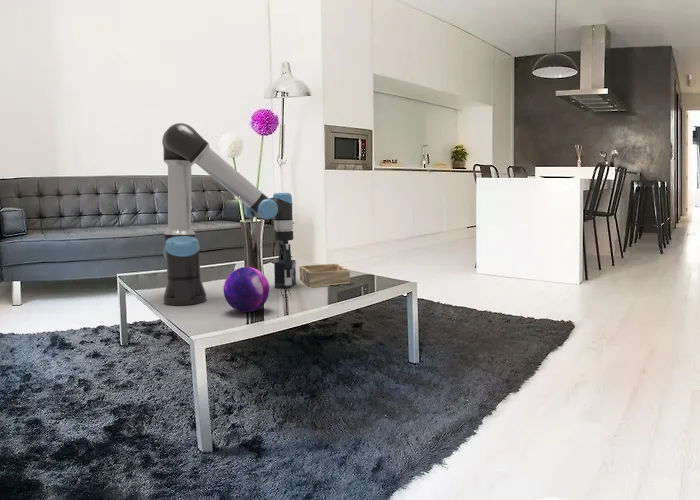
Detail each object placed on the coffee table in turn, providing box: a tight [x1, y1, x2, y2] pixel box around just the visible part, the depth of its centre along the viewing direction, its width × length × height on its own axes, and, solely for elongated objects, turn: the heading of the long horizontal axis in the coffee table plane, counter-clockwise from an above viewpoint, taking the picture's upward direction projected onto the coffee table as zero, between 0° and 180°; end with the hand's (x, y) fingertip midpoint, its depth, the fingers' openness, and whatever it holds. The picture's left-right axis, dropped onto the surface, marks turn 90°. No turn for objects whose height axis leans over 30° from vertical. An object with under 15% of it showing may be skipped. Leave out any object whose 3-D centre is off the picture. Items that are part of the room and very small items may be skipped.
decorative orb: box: [223, 266, 270, 313], centre depth 191 cm, size 15×15×15 cm
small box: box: [273, 259, 297, 289], centre depth 237 cm, size 11×6×10 cm, turn 169°
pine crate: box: [298, 263, 351, 289], centre depth 244 cm, size 21×17×6 cm
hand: (285, 282), depth 237 cm, fingers closed on small box, 12 cm apart
